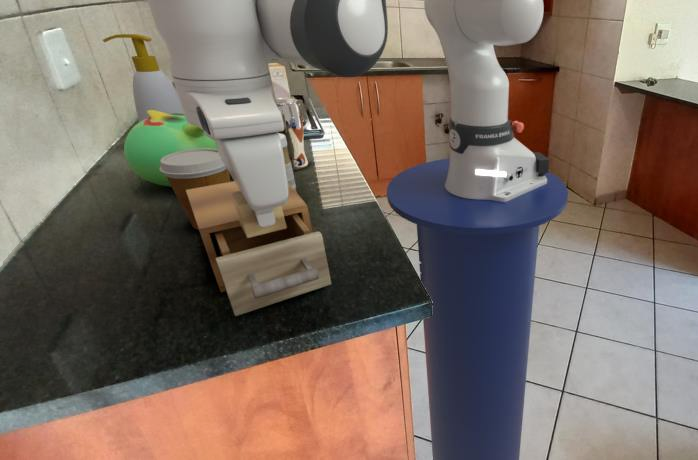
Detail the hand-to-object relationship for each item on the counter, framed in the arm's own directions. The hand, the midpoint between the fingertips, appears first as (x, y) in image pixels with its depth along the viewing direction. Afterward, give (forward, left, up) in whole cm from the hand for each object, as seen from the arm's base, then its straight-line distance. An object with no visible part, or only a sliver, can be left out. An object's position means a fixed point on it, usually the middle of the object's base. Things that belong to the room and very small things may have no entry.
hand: (261, 214), depth 53 cm
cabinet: (0, -11, -12) cm, 16 cm away
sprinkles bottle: (-8, -28, -12) cm, 32 cm away
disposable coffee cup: (+4, -27, -12) cm, 30 cm away
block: (0, 0, -2) cm, 2 cm away
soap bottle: (+6, -76, -12) cm, 77 cm away
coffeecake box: (-14, -72, -12) cm, 75 cm away
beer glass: (-15, -49, -12) cm, 53 cm away
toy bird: (+5, -50, -12) cm, 52 cm away
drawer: (0, -1, -11) cm, 11 cm away
